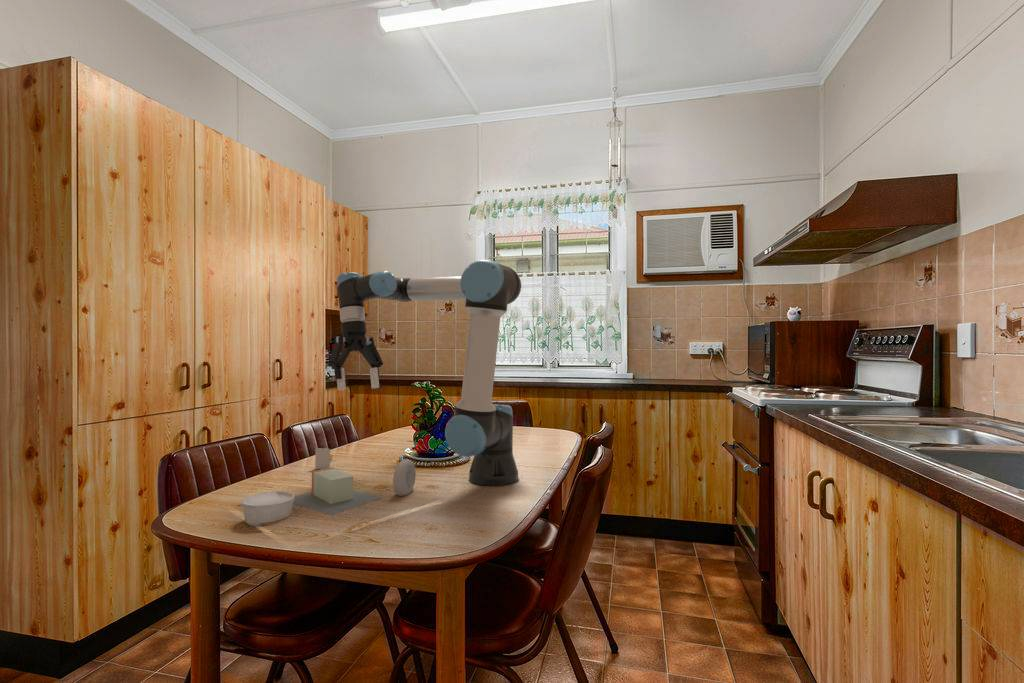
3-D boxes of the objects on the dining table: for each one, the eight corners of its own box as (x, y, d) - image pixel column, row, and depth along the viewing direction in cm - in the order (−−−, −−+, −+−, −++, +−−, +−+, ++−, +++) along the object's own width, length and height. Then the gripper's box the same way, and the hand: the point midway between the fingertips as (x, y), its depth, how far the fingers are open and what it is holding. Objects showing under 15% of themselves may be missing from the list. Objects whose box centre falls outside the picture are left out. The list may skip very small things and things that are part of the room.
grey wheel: (402, 502, 130) (402, 464, 130) (390, 501, 130) (390, 463, 130) (417, 491, 140) (417, 455, 140) (406, 490, 140) (406, 455, 140)
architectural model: (321, 468, 167) (321, 446, 167) (339, 469, 165) (339, 447, 165) (314, 470, 164) (314, 448, 164) (332, 472, 162) (332, 449, 162)
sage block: (330, 504, 125) (311, 493, 134) (352, 498, 129) (333, 489, 138) (330, 480, 125) (311, 471, 134) (353, 475, 129) (333, 467, 138)
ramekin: (305, 515, 120) (305, 494, 120) (265, 532, 110) (265, 508, 110) (272, 509, 124) (272, 488, 124) (230, 524, 114) (230, 501, 114)
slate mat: (382, 500, 131) (382, 497, 131) (332, 519, 117) (332, 514, 117) (333, 488, 142) (333, 485, 142) (281, 504, 128) (281, 500, 128)
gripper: (373, 326, 169) (379, 388, 166) (311, 321, 147) (317, 392, 145) (390, 322, 165) (396, 385, 163) (328, 316, 144) (335, 389, 141)
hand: (359, 389), depth 154 cm, fingers open, 13 cm apart
